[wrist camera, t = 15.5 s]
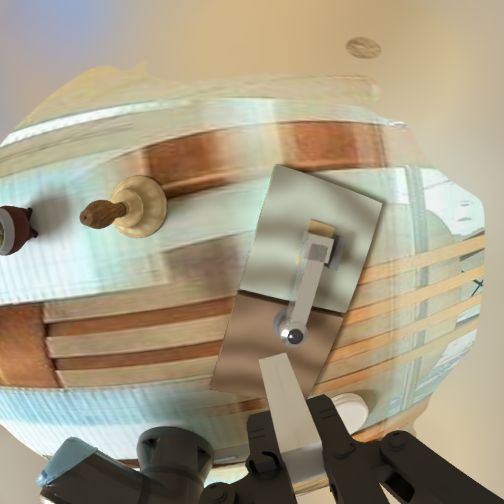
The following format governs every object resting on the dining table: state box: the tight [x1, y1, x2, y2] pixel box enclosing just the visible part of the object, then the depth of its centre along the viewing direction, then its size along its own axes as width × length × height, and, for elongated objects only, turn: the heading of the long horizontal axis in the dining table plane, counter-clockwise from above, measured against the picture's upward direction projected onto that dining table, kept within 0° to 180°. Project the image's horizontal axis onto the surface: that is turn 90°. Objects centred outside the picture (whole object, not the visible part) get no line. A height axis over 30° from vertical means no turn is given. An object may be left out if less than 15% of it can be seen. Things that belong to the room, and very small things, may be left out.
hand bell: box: [80, 176, 167, 238], centre depth 28 cm, size 8×8×16 cm
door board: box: [210, 164, 382, 400], centre depth 38 cm, size 34×16×4 cm, turn 164°
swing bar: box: [277, 231, 334, 347], centre depth 36 cm, size 15×4×4 cm, turn 167°
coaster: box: [331, 393, 369, 435], centre depth 44 cm, size 10×10×4 cm
